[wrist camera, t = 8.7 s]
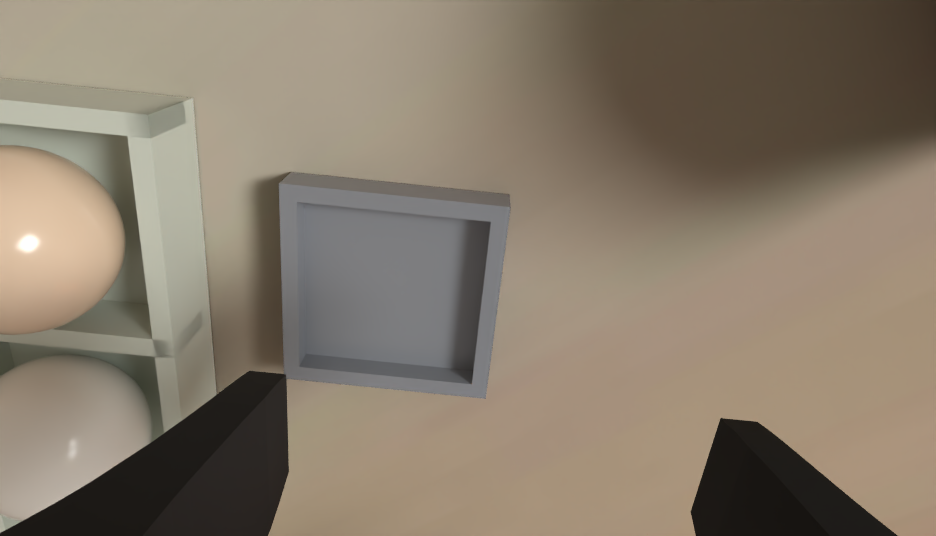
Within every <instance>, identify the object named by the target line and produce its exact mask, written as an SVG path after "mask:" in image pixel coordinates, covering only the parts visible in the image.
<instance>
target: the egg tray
mask: <svg viewBox="0 0 936 536" xmlns="http://www.w3.org/2000/svg"><path fill="white" fill-rule="evenodd" d="M0 145H19V146H26V147H32V148H38V149H42V150H45V151H49V152H52V153H54V154H57V155H59V156H62V157H64V158H67V159H68V160H70V161H72V162H74V163H76V164H77V165H79V166H80V167H82V168H83V169H85V170H86V171H87V172H89V173H90V174H91V175H92V176H93V177H95V178H96V179H97V180H98V181H99V182H100V183H101V184H102V185H103V186H104V188H105V189H106V190H107V191H108V193H109V194H110V196H111V197H112V199H113V200H114V202H115V204H116V206H117V208H118V210H119V213H120V215H121V218H122V221H123V225H124V230H125V254H124V259H123V263H122V266H121V269H120V272H119V274H118V276H117V279H116V280H115V282H114V283H113V285H112V287H111V288H110V290H109V291H108V293H107V294H106V295H105V296H104V297H103V298H102V299H101V300H100V301H99V302H98V303H97V304H96V305H95V306H94V307H93V308H91V309H90V310H89V311H87V312H86V313H85V314H83V315H82V316H80V317H78V318H76V319H75V320H73V321H71V322H69V323H66V324H64V325H62V326H59V327H56V328H53V329H50V330H46V331H42V332H37V333H31V334H19V335H3V334H0V376H2V375H3V374H5V373H6V372H8V371H9V370H11V369H13V368H15V367H17V366H19V365H21V364H23V363H26V362H29V361H32V360H35V359H38V358H42V357H47V356H53V355H62V354H75V355H85V356H91V357H95V358H98V359H101V360H104V361H106V362H109V363H111V364H113V365H115V366H117V367H118V368H120V369H121V370H123V371H124V372H126V373H127V374H128V375H129V376H130V377H131V378H132V379H133V380H134V381H135V382H136V383H137V384H138V386H139V387H140V388H141V390H142V391H143V393H144V395H145V397H146V399H147V401H148V404H149V407H150V410H151V415H152V438H151V442H152V441H154V440H155V439H157V438H158V437H159V436H161V435H162V434H164V433H165V432H166V431H168V430H169V429H171V428H172V427H173V426H175V425H176V424H178V423H179V422H180V421H182V420H183V419H185V418H186V417H187V416H189V415H190V414H191V413H193V412H194V411H195V410H197V409H198V408H200V407H201V406H202V405H204V404H205V403H206V402H208V401H209V400H210V399H212V398H213V397H214V396H216V395H217V393H216V380H215V368H214V355H213V343H212V330H211V317H210V305H209V292H208V280H207V267H206V255H205V242H204V230H203V217H202V204H201V192H200V179H199V167H198V154H197V142H196V129H195V117H194V104H193V98H188V97H178V96H168V95H159V94H149V93H140V92H130V91H120V90H111V89H101V88H91V87H82V86H72V85H63V84H53V83H43V82H34V81H24V80H14V79H5V78H0ZM18 523H20V521H16V520H12V519H9V518H6V517H4V516H2V515H0V533H1V532H3V531H4V530H6V529H8V528H10V527H12V526H14V525H16V524H18Z"/></svg>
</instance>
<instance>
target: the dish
mask: <svg viewBox="0 0 936 536" xmlns="http://www.w3.org/2000/svg"><path fill="white" fill-rule="evenodd" d="M279 207H280V244H281V282H282V319H283V356H284V374H286V379H295V380H305V381H315V382H325V383H335V384H345V385H355V386H365V387H375V388H384V389H394V390H404V391H414V392H424V393H434V394H444V395H454V396H464V397H474V398H484V399H486V392H487V384H488V376H489V369H490V361H491V353H492V346H493V338H494V330H495V323H496V315H497V307H498V300H499V292H500V284H501V277H502V269H503V261H504V253H505V246H506V238H507V230H508V223H509V215H510V195H509V194H499V193H490V192H480V191H470V190H461V189H451V188H441V187H431V186H422V185H412V184H402V183H393V182H383V181H373V180H364V179H354V178H344V177H334V176H325V175H315V174H305V173H296V172H291V173H290V174H288V175H287V176H286V177H285V178H284V179H283V180H282V181H281V182H280V183H279Z"/></svg>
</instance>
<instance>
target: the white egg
mask: <svg viewBox="0 0 936 536" xmlns="http://www.w3.org/2000/svg"><path fill="white" fill-rule="evenodd" d="M151 438H152V415H151V410H150V407H149V404H148V401H147V399H146V397H145V395H144V393H143V391H142V390H141V388H140V387H139V386H138V384H137V383H136V382H135V381H134V380H133V379H132V378H131V377H130V376H129V375H128V374H127V373H126V372H124V371H123V370H121V369H120V368H118V367H117V366H115V365H113V364H111V363H109V362H106V361H104V360H101V359H98V358H95V357H91V356H85V355H75V354H62V355H53V356H47V357H42V358H38V359H35V360H32V361H29V362H26V363H23V364H21V365H19V366H17V367H15V368H13V369H11V370H9V371H8V372H6V373H5V374H3V375H2V376H0V515H2V516H4V517H6V518H9V519H12V520H16V521H20V522H21V521H23V520H25V519H27V518H29V517H30V516H32V515H34V514H36V513H38V512H40V511H41V510H43V509H45V508H47V507H49V506H50V505H52V504H54V503H56V502H58V501H59V500H61V499H63V498H64V497H66V496H68V495H70V494H71V493H73V492H75V491H76V490H78V489H80V488H81V487H83V486H85V485H86V484H88V483H90V482H91V481H93V480H94V479H96V478H97V477H99V476H100V475H102V474H104V473H105V472H107V471H108V470H110V469H111V468H113V467H114V466H116V465H117V464H119V463H120V462H122V461H123V460H125V459H126V458H128V457H130V456H131V455H133V454H134V453H136V452H137V451H139V450H140V449H142V448H143V447H145V446H146V445H148V444H149V443H151Z"/></svg>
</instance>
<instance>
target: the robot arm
mask: <svg viewBox="0 0 936 536" xmlns="http://www.w3.org/2000/svg"><path fill="white" fill-rule="evenodd" d="M288 472H289V466H288V426H287V386H286V374H276V373H266V372H256V371H249V372H247V373H246V374H244V375H243V376H241V377H240V378H239V379H237V380H236V381H234V382H233V383H232V384H230V385H229V386H228V387H226V388H225V389H224V390H222V391H221V392H220V393H218V394H217V395H216V396H214V397H213V398H212V399H210V400H209V401H208V402H206V403H205V404H204V405H202V406H201V407H200V408H198V409H197V410H195V411H194V412H193V413H191V414H190V415H189V416H187V417H186V418H185V419H183V420H182V421H180V422H179V423H178V424H176V425H175V426H173V427H172V428H171V429H169V430H168V431H166V432H165V433H164V434H162V435H161V436H159V437H158V438H157V439H155V440H154V441H152V442H151V443H149V444H148V445H146V446H145V447H143V448H142V449H140V450H139V451H137V452H136V453H134V454H133V455H131V456H130V457H128V458H126V459H125V460H123V461H122V462H120V463H119V464H117V465H116V466H114V467H113V468H111V469H110V470H108V471H107V472H105V473H104V474H102V475H100V476H99V477H97V478H96V479H94V480H93V481H91V482H90V483H88V484H86V485H85V486H83V487H81V488H80V489H78V490H76V491H75V492H73V493H71V494H70V495H68V496H66V497H64V498H63V499H61V500H59V501H58V502H56V503H54V504H52V505H50V506H49V507H47V508H45V509H43V510H41V511H40V512H38V513H36V514H34V515H32V516H30V517H29V518H27V519H25V520H23V521H21V522H20V523H18V524H16V525H14V526H12V527H10V528H8V529H6V530H4V531H3V532H1V533H0V536H268V534H269V531H270V529H271V526H272V523H273V520H274V517H275V514H276V511H277V508H278V505H279V502H280V498H281V495H282V492H283V489H284V485H285V482H286V479H287V476H288ZM691 515H692V520H693V524H694V529H695V534H696V536H897V535H896V534H895V533H894V532H892V531H891V530H890V529H888V528H887V527H886V526H885V525H883V524H882V523H881V522H880V521H878V520H877V519H876V518H875V517H873V516H872V515H871V514H870V513H868V512H867V511H866V510H865V509H864V508H862V507H861V506H860V505H859V504H857V503H856V502H855V501H854V500H853V499H851V498H850V497H849V496H848V495H846V494H845V493H844V492H843V491H842V490H840V489H839V488H838V487H837V486H836V485H834V484H833V483H832V482H831V481H830V480H828V479H827V478H826V477H825V476H824V475H823V474H821V473H820V472H819V471H818V470H817V469H815V468H814V467H813V466H812V465H811V464H809V463H808V462H807V461H806V460H805V459H803V458H802V457H801V456H800V455H799V454H797V453H796V452H795V451H794V450H793V449H791V448H790V447H789V446H788V445H787V444H785V443H784V442H783V441H782V440H780V439H779V438H778V437H777V436H775V435H774V434H773V433H772V432H770V431H769V430H768V429H766V428H765V427H764V426H762V425H761V424H759V423H758V422H753V421H743V420H733V419H723V418H721V419H720V422H719V425H718V428H717V431H716V434H715V437H714V441H713V444H712V447H711V450H710V453H709V456H708V459H707V462H706V466H705V469H704V472H703V475H702V478H701V481H700V484H699V488H698V491H697V494H696V497H695V500H694V503H693V506H692V510H691Z"/></svg>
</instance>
